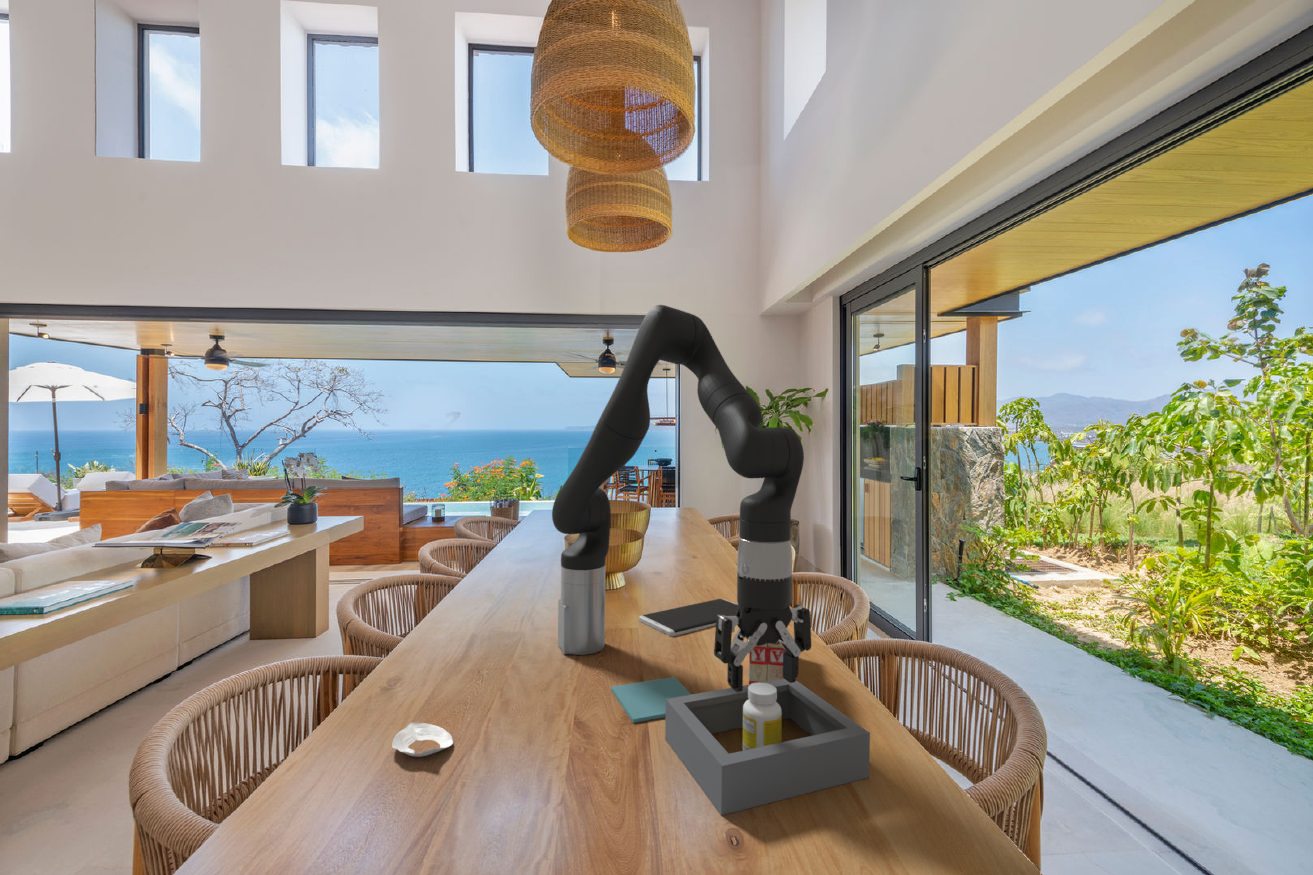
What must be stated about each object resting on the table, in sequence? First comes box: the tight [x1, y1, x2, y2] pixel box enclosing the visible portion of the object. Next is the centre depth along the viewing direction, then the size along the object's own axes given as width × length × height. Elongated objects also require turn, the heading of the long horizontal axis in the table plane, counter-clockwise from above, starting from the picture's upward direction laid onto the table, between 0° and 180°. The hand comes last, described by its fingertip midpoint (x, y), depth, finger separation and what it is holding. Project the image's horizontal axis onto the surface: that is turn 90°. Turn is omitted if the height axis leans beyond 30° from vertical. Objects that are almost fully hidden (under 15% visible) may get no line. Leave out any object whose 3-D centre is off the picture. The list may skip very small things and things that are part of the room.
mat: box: [610, 676, 692, 724], centre depth 99 cm, size 12×12×1 cm
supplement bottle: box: [742, 683, 783, 751], centre depth 82 cm, size 5×5×10 cm
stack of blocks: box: [748, 641, 786, 685], centre depth 110 cm, size 21×6×12 cm, turn 171°
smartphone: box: [638, 598, 738, 638], centre depth 141 cm, size 13×27×2 cm, turn 126°
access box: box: [664, 679, 871, 816], centre depth 82 cm, size 22×18×6 cm
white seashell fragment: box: [391, 722, 454, 758], centre depth 84 cm, size 8×12×2 cm, turn 37°
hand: (763, 685), depth 82 cm, fingers open, 8 cm apart
